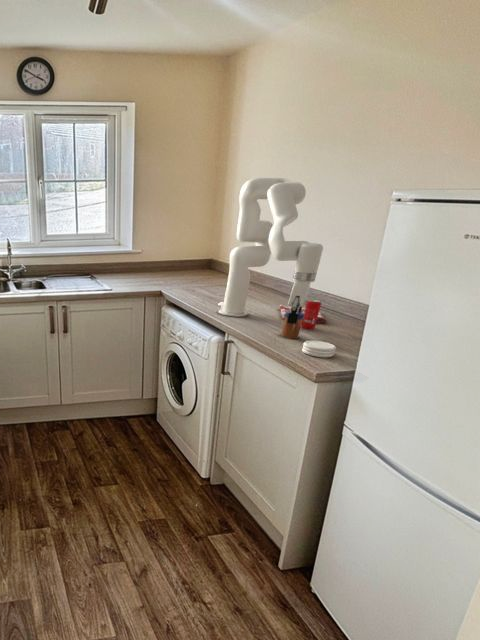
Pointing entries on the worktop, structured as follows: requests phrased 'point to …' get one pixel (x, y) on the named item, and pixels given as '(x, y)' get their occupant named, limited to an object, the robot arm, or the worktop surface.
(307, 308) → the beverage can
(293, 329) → the jam jar
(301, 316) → the jam lid
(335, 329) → the worktop surface
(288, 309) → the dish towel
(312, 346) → the coaster
